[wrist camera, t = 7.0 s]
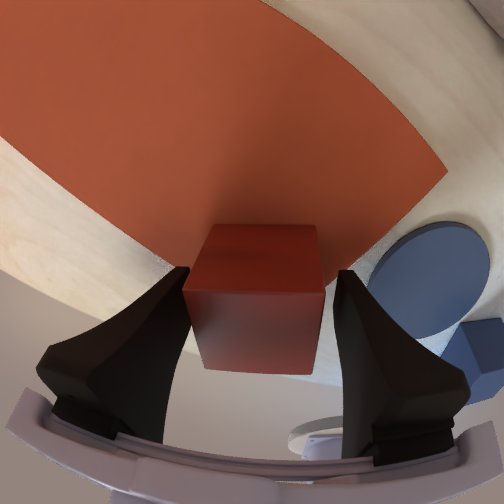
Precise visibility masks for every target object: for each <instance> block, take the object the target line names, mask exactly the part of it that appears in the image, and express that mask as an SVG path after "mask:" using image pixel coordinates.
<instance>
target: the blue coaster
mask: <svg viewBox="0 0 504 504" xmlns="http://www.w3.org/2000/svg"><path fill="white" fill-rule="evenodd" d="M489 270H490V258H489V253H488V249H487V247H486V245H485V243H484V241H483V240H482V238H481V237H480V236H479V235H478V234H477V233H476V232H475V231H474V230H473V229H471V228H469V227H468V226H466V225H463V224H460V223H454V222H441V223H434V224H431V225H427V226H425V227H422V228H420V229H417V230H415V231H414V232H412V233H410V234H408V235H407V236H405V237H404V238H403V239H401V240H400V241H398V242H397V243H396V244H395V245H394V246H393V247H392V248H391V249H390V250H389V251H388V252H387V253H386V254H385V255H384V256H383V257H382V259H381V260H380V261H379V263H378V264H377V266H376V268H375V269H374V271H373V273H372V275H371V277H370V279H369V283H368V286H367V289H368V290H369V292H370V293H371V294H372V296H373V297H374V298H375V299H376V300H377V302H378V303H379V304H380V305H381V307H382V308H383V309H384V310H385V311H386V312H387V313H388V314H389V316H390V317H391V318H392V319H393V320H394V321H395V322H396V323H397V324H398V325H399V326H400V327H402V328H403V329H404V330H405V331H406V332H407V333H408V334H409V335H410V336H412V337H413V338H414V339H421V338H425V337H429V336H432V335H435V334H437V333H439V332H441V331H443V330H445V329H447V328H449V327H450V326H452V325H453V324H455V323H456V322H457V321H459V320H460V319H461V318H462V317H463V316H465V315H466V314H467V313H468V312H469V310H470V309H471V308H472V307H473V306H474V304H475V303H476V302H477V300H478V299H479V297H480V296H481V294H482V292H483V290H484V288H485V285H486V283H487V279H488V276H489Z"/></svg>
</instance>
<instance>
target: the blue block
mask: <svg viewBox="0 0 504 504" xmlns="http://www.w3.org/2000/svg"><path fill="white" fill-rule="evenodd" d="M440 358H442V359H443V360H445V361H447V362H448V363H450V364H452V365H454V366H456V367H457V368H459V369H461V370H463V371H464V373H465V376H466V378H467V381H468V384H469V387H470V390H471V396H470V399H469V401H468V402H467V403H466V404H465V405H469V404H473V403H476V402H480V401H483V400H486V399H489V398H492V397H494V396H495V394H496V393H497V392H498V391H499V390H500V389H501V388H502V387H503V386H504V323H503V321H502V319H501V318H497V319H490V320H483V321H475V322H467V323H460V325H459V326H458V328H457V330H456V332H455V334H454V335H453V337H452V339H451V341H450V342H449V344H448V346H447V347H446V349H445V351H444V352H443V354H442V356H441V357H440Z"/></svg>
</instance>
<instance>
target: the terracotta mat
mask: <svg viewBox="0 0 504 504" xmlns="http://www.w3.org/2000/svg"><path fill="white" fill-rule="evenodd" d="M0 136H1V137H2V138H3V139H5V140H6V141H7V142H8V143H9V144H10V145H12V146H13V147H14V148H15V149H16V150H17V151H19V152H20V153H21V154H22V155H23V156H25V157H26V158H27V159H28V160H29V161H31V162H32V163H33V164H34V165H36V166H37V167H38V168H39V169H41V170H42V171H43V172H44V173H46V174H47V175H48V176H49V177H51V178H52V179H53V180H54V181H56V182H57V183H58V184H60V185H61V186H62V187H63V188H65V189H66V190H67V191H69V192H70V193H71V194H73V195H74V196H75V197H76V198H78V199H79V200H80V201H82V202H83V203H84V204H86V205H87V206H88V207H90V208H91V209H93V210H94V211H95V212H97V213H98V214H99V215H101V216H102V217H103V218H105V219H106V220H108V221H109V222H110V223H112V224H113V225H115V226H116V227H117V228H119V229H120V230H122V231H123V232H124V233H126V234H127V235H129V236H130V237H132V238H133V239H134V240H136V241H137V242H139V243H140V244H142V245H143V246H145V247H146V248H147V249H149V250H150V251H152V252H153V253H155V254H156V255H158V256H159V257H161V258H162V259H164V260H165V261H167V262H168V263H170V264H171V265H173V266H174V267H176V266H187V267H190V271H191V269H192V267H193V265H194V262H195V260H196V258H197V256H198V254H199V252H200V250H201V248H202V246H203V244H204V241H205V239H206V237H207V235H208V233H209V231H210V229H211V227H212V225H214V224H280V225H315V227H316V232H317V238H318V244H319V250H320V257H321V263H322V270H323V277H324V284H325V287H326V286H327V285H328V284H330V283H331V282H332V281H333V280H334V279H335V278H337V277H338V271H339V270H346V269H347V268H348V267H349V266H351V265H352V264H353V263H354V262H355V261H356V260H357V259H359V258H360V257H361V256H362V255H363V254H364V253H365V252H366V251H367V250H369V249H370V248H371V247H372V246H373V245H374V244H375V243H376V242H377V241H378V240H380V239H381V238H382V237H383V236H384V235H385V234H386V233H387V232H388V231H389V230H390V229H391V228H392V227H393V226H395V225H396V224H397V223H398V222H399V221H400V220H401V219H402V218H403V217H404V216H405V215H406V214H407V213H408V212H409V211H410V210H411V209H412V208H413V207H414V206H415V205H416V204H417V203H418V202H419V201H420V200H421V199H422V198H423V197H424V196H425V195H426V194H427V193H428V192H429V191H430V190H431V189H432V188H433V187H434V186H435V185H436V184H437V183H438V182H439V181H440V180H441V179H442V178H443V176H444V175H445V174H446V173H447V172H448V170H447V169H446V167H445V166H444V165H443V163H442V162H441V161H440V159H439V158H438V157H437V155H436V154H435V153H434V151H433V150H432V149H431V147H430V146H429V145H428V144H427V142H426V141H425V140H424V139H423V137H422V136H421V135H420V134H419V133H418V131H417V130H416V129H415V128H414V127H413V126H412V124H411V123H410V122H409V121H408V120H407V119H406V118H405V117H404V115H403V114H402V113H401V112H400V111H399V110H398V109H397V108H396V107H395V106H394V105H393V104H392V103H391V102H390V101H389V100H388V99H387V98H386V97H385V96H384V95H383V94H382V93H381V92H380V91H379V90H378V89H377V88H376V87H375V86H374V85H373V84H372V83H371V82H370V81H369V80H368V79H367V78H366V77H365V76H364V75H363V74H361V73H360V72H359V71H358V70H357V69H356V68H355V67H353V66H352V65H351V64H350V63H349V62H348V61H346V60H345V59H344V58H343V57H342V56H340V55H339V54H338V53H337V52H336V51H334V50H333V49H332V48H330V47H329V46H328V45H327V44H325V43H324V42H323V41H321V40H320V39H319V38H317V37H316V36H315V35H313V34H312V33H310V32H309V31H308V30H306V29H305V28H303V27H302V26H300V25H299V24H298V23H296V22H295V21H293V20H291V19H290V18H288V17H287V16H285V15H284V14H282V13H281V12H279V11H277V10H276V9H274V8H272V7H271V6H269V5H267V4H265V3H264V2H262V1H260V0H0Z"/></svg>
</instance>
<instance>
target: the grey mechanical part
mask: <svg viewBox="0 0 504 504" xmlns="http://www.w3.org/2000/svg"><path fill="white" fill-rule="evenodd" d="M469 1H470V3H471V4H472V5H473V6H474V7H475V8H476V10H477V11H478V12H479V13H480V14H481V16H482V17H483V18H484V19H485V21H486V22H487V23H488V24H489V25H490V26H491V27H492V28H493V29H494V30H495V32H496V33H497V34H498V35H499V36H500V37H501V38H502V39H503V40H504V0H469Z"/></svg>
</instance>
